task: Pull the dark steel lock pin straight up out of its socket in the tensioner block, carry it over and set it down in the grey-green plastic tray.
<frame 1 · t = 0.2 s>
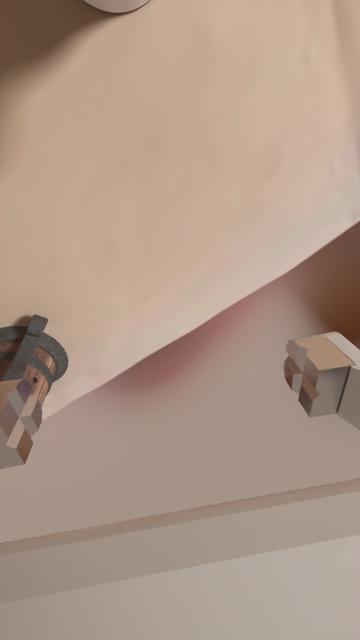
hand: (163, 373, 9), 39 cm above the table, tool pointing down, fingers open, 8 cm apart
tankard: (29, 347, 55), on the table
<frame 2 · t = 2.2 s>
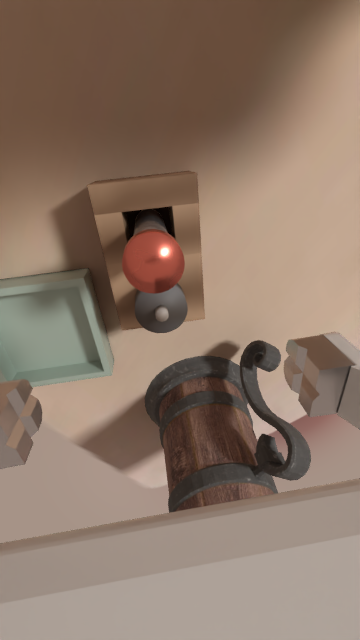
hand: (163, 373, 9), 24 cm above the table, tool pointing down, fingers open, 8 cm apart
tankard: (210, 383, 42), on the table
tray: (48, 326, 34), on the table
lock pin: (149, 223, 29), resting in tensioner block
tensioner block: (152, 247, 30), on the table
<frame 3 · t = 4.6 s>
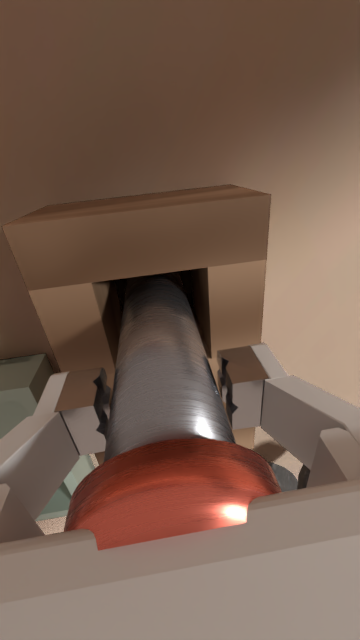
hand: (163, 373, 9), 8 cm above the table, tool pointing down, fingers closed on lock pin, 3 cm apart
tankard: (240, 489, 29), on the table
lock pin: (153, 280, 16), resting in tensioner block, touching gripper
tensioner block: (159, 317, 17), on the table
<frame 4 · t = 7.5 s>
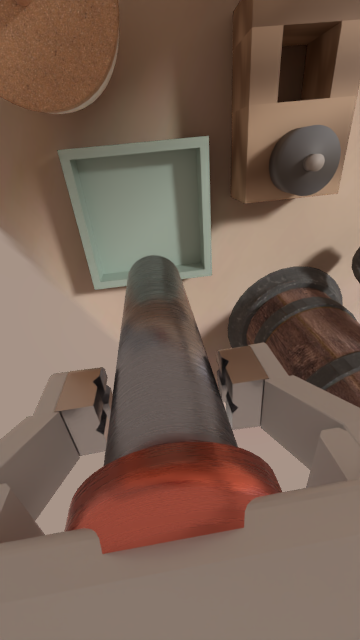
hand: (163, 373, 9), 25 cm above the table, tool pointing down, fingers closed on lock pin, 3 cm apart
lidded jar: (59, 43, 22), on the table
tankard: (300, 303, 38), on the table
tray: (145, 215, 30), on the table
lock pin: (154, 280, 16), point 17 cm above the table, touching gripper
tensioner block: (277, 113, 26), on the table
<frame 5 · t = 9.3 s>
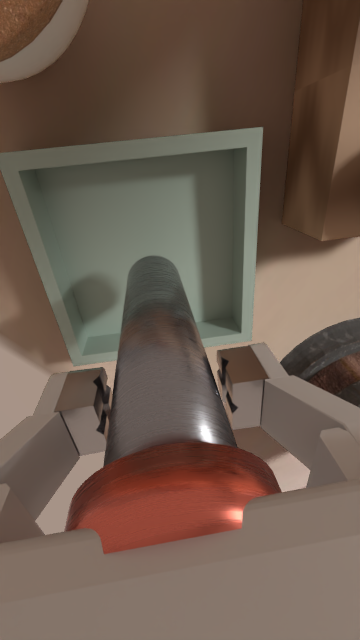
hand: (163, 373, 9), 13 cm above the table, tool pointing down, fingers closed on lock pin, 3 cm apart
tray: (150, 253, 19), on the table
lock pin: (154, 281, 16), point 4 cm above the table, touching gripper
when the fingers open (10 cm above the table, at t = 10.5 s): lock pin drops 1 cm, resting on tray.
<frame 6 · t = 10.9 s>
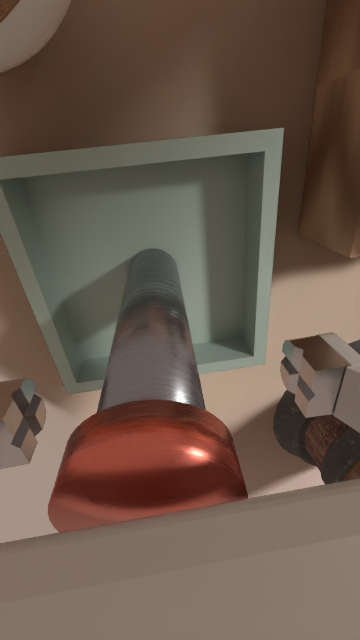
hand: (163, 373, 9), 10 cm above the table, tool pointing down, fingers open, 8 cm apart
tray: (152, 269, 17), on the table
lock pin: (153, 272, 17), point 1 cm above the table, touching tray
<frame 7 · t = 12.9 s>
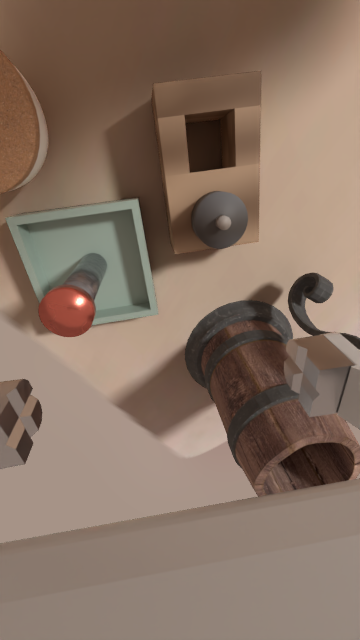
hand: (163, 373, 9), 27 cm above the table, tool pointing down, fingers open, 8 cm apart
lidded jar: (4, 130, 26), on the table
tankard: (251, 333, 41), on the table
tray: (94, 264, 33), on the table
lock pin: (94, 265, 33), point 1 cm above the table, touching tray
tensioner block: (202, 174, 30), on the table
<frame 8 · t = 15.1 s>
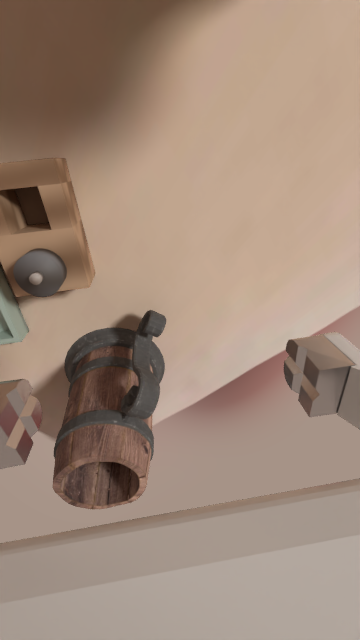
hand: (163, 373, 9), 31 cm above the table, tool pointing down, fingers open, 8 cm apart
tankard: (124, 354, 46), on the table
tensioner block: (46, 226, 35), on the table
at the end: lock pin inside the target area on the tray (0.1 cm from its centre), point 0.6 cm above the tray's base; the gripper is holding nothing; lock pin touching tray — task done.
